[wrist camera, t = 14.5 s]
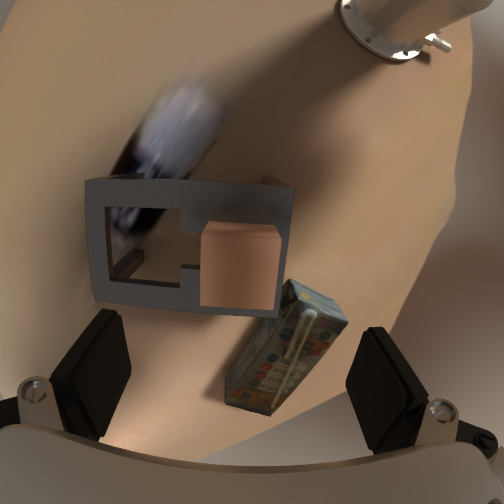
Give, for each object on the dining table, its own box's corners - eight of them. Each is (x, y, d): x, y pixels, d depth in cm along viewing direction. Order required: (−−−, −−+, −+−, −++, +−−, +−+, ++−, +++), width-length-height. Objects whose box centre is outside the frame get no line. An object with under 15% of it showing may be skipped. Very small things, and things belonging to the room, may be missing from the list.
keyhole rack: (277, 179, 31) (294, 188, 20) (267, 270, 34) (277, 317, 24) (132, 172, 30) (84, 180, 19) (133, 260, 33) (94, 300, 23)
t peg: (267, 211, 27) (281, 239, 17) (263, 259, 29) (273, 310, 19) (216, 207, 27) (201, 234, 17) (214, 256, 28) (200, 305, 19)
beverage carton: (338, 299, 36) (355, 325, 30) (267, 391, 41) (270, 421, 35) (289, 274, 35) (298, 299, 29) (222, 375, 40) (220, 407, 34)
